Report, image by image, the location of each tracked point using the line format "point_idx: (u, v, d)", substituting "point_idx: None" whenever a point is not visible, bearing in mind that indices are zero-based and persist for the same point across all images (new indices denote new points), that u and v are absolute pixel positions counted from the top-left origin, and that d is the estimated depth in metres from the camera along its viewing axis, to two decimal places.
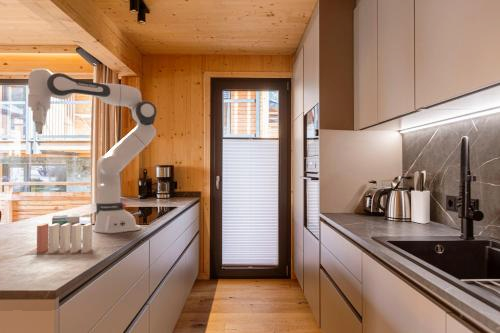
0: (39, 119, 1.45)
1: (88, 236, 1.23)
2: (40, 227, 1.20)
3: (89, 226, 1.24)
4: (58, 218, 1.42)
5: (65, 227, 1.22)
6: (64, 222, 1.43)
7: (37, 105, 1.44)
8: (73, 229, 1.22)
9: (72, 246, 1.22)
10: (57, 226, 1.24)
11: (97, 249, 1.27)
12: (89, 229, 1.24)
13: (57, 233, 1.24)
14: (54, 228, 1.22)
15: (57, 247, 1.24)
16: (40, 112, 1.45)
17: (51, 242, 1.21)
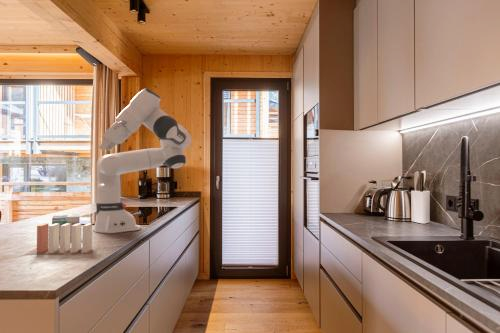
0: (109, 138, 1.19)
1: (88, 236, 1.23)
2: (40, 227, 1.20)
3: (89, 226, 1.24)
4: (58, 218, 1.42)
5: (65, 227, 1.22)
6: (64, 222, 1.43)
7: (118, 124, 1.19)
8: (73, 229, 1.22)
9: (72, 246, 1.22)
10: (57, 226, 1.24)
11: (97, 249, 1.27)
12: (89, 229, 1.24)
13: (57, 233, 1.24)
14: (54, 228, 1.22)
15: (57, 247, 1.24)
16: (115, 132, 1.19)
17: (51, 242, 1.21)
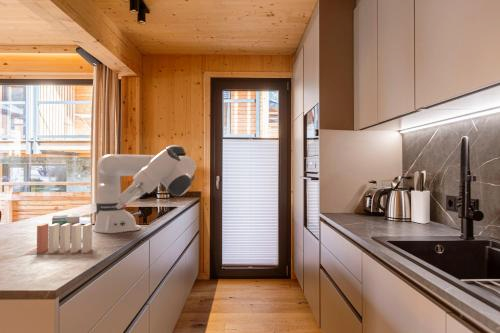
0: (123, 202, 1.17)
1: (88, 236, 1.23)
2: (40, 227, 1.20)
3: (89, 226, 1.24)
4: (58, 218, 1.42)
5: (65, 227, 1.22)
6: (64, 222, 1.43)
7: (133, 188, 1.17)
8: (73, 229, 1.22)
9: (72, 246, 1.22)
10: (57, 226, 1.24)
11: (97, 249, 1.27)
12: (89, 229, 1.24)
13: (57, 233, 1.24)
14: (54, 228, 1.22)
15: (57, 247, 1.24)
16: (130, 196, 1.17)
17: (51, 242, 1.21)
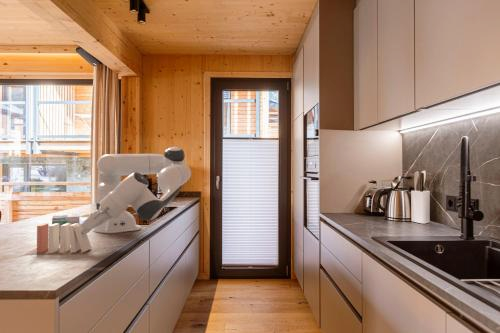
0: (87, 228, 1.15)
1: (82, 236, 1.23)
2: (40, 227, 1.20)
3: (80, 226, 1.24)
4: (58, 218, 1.42)
5: (65, 227, 1.22)
6: (64, 222, 1.43)
7: (97, 215, 1.15)
8: (71, 229, 1.22)
9: (71, 246, 1.22)
10: (57, 226, 1.24)
11: (97, 249, 1.27)
12: (81, 229, 1.24)
13: (57, 233, 1.24)
14: (54, 228, 1.22)
15: (57, 247, 1.24)
16: (94, 223, 1.16)
17: (51, 242, 1.21)
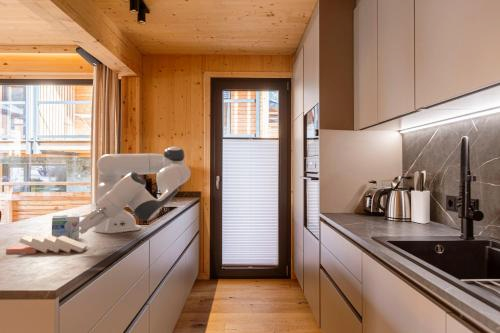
0: (83, 228, 1.15)
1: (69, 241, 1.23)
2: (7, 250, 1.19)
3: (60, 237, 1.23)
4: (58, 218, 1.42)
5: (35, 238, 1.21)
6: (64, 222, 1.43)
7: (94, 215, 1.15)
8: (47, 241, 1.21)
9: (63, 249, 1.21)
10: (28, 237, 1.23)
11: (97, 249, 1.27)
12: (63, 238, 1.23)
13: None
14: (24, 238, 1.20)
15: None
16: (91, 223, 1.15)
17: (36, 246, 1.20)
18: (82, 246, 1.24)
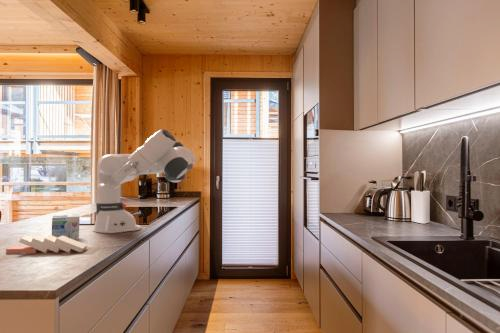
0: (117, 180, 1.16)
1: (69, 241, 1.23)
2: (7, 250, 1.19)
3: (60, 237, 1.23)
4: (58, 218, 1.42)
5: (35, 238, 1.21)
6: (64, 222, 1.43)
7: (128, 167, 1.16)
8: (47, 241, 1.21)
9: (63, 249, 1.21)
10: (28, 237, 1.23)
11: (97, 249, 1.27)
12: (63, 238, 1.23)
13: None
14: (24, 238, 1.20)
15: None
16: (125, 175, 1.17)
17: (36, 246, 1.20)
18: (82, 246, 1.24)
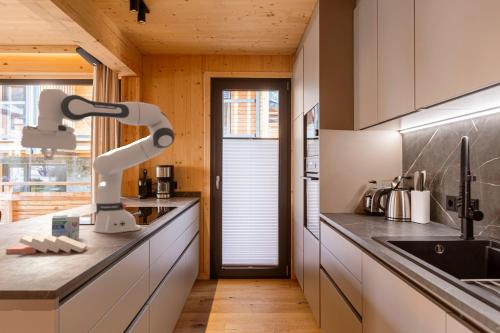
0: None
1: (69, 241, 1.23)
2: (7, 250, 1.19)
3: (60, 237, 1.23)
4: (58, 218, 1.42)
5: (35, 238, 1.21)
6: (64, 222, 1.43)
7: None
8: (47, 241, 1.21)
9: (63, 249, 1.21)
10: (28, 237, 1.23)
11: (97, 249, 1.27)
12: (63, 238, 1.23)
13: None
14: (24, 238, 1.20)
15: None
16: None
17: (36, 246, 1.20)
18: (82, 246, 1.24)
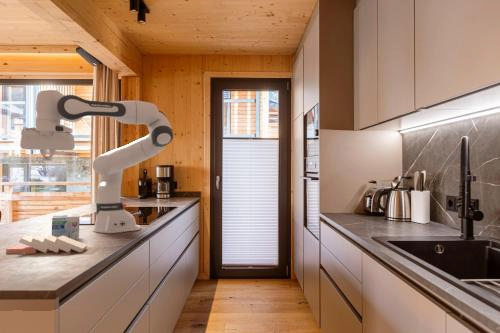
0: None
1: (69, 241, 1.23)
2: (7, 250, 1.19)
3: (60, 237, 1.23)
4: (58, 218, 1.42)
5: (35, 238, 1.21)
6: (64, 222, 1.43)
7: None
8: (47, 241, 1.21)
9: (63, 249, 1.21)
10: (28, 237, 1.23)
11: (97, 249, 1.27)
12: (63, 238, 1.23)
13: None
14: (24, 238, 1.20)
15: None
16: None
17: (36, 246, 1.20)
18: (82, 246, 1.24)
